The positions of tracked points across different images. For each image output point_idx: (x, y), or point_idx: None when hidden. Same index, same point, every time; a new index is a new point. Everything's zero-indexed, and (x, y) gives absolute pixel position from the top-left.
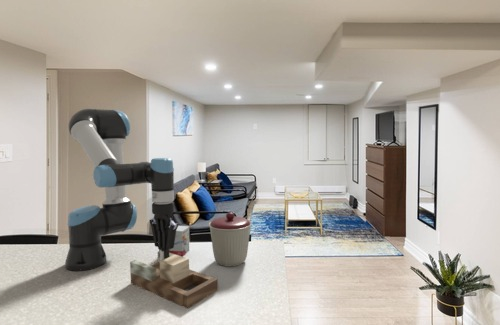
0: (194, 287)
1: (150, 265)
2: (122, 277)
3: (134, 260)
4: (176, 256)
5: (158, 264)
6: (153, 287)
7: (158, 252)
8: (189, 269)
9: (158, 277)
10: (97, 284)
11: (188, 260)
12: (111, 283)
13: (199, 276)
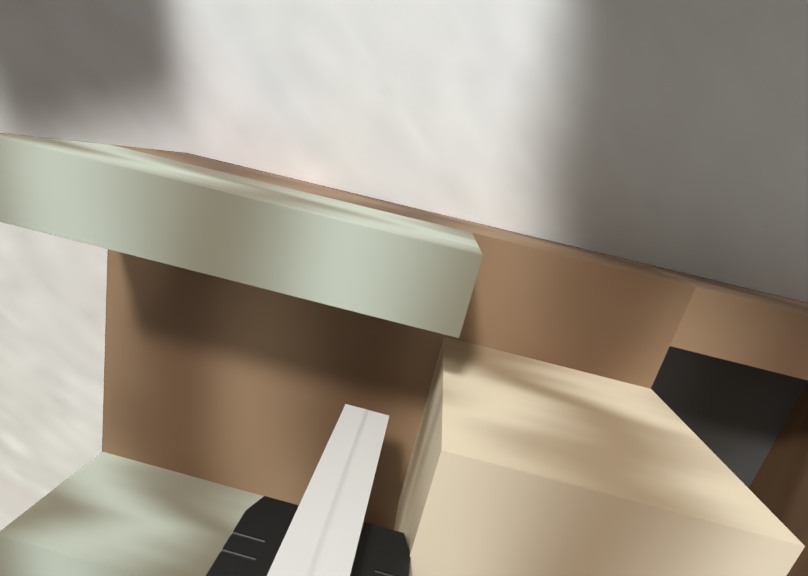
0: (667, 359)
1: (123, 318)
2: (39, 380)
3: (3, 545)
4: (514, 514)
5: (172, 268)
6: None
7: (5, 219)
8: (581, 260)
9: (383, 504)
10: (5, 499)
11: (776, 530)
12: (60, 467)
13: (776, 372)
